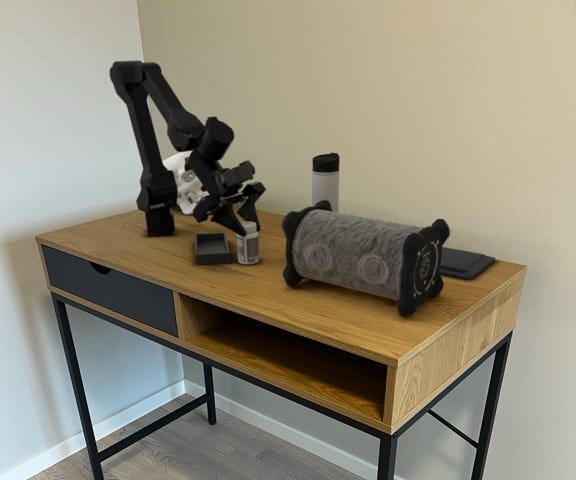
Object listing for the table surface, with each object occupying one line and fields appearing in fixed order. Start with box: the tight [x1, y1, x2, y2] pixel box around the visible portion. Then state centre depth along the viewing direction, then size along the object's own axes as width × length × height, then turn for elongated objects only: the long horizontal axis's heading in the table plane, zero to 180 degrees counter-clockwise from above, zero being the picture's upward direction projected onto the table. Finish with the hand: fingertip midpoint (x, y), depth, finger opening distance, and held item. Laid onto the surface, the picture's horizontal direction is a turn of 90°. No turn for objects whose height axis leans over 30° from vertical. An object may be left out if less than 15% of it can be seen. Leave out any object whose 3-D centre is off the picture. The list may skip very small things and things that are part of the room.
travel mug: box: [311, 152, 341, 213], centre depth 139 cm, size 6×7×20 cm
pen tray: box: [194, 231, 231, 266], centre depth 137 cm, size 16×8×2 cm, turn 8°
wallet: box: [439, 246, 496, 281], centre depth 130 cm, size 20×2×15 cm
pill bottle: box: [236, 221, 260, 265], centre depth 130 cm, size 5×5×8 cm
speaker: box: [281, 200, 451, 318], centre depth 112 cm, size 15×29×15 cm, turn 53°
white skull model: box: [162, 151, 212, 216], centre depth 170 cm, size 14×20×19 cm
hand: (252, 233), depth 128 cm, fingers closed on pill bottle, 4 cm apart
